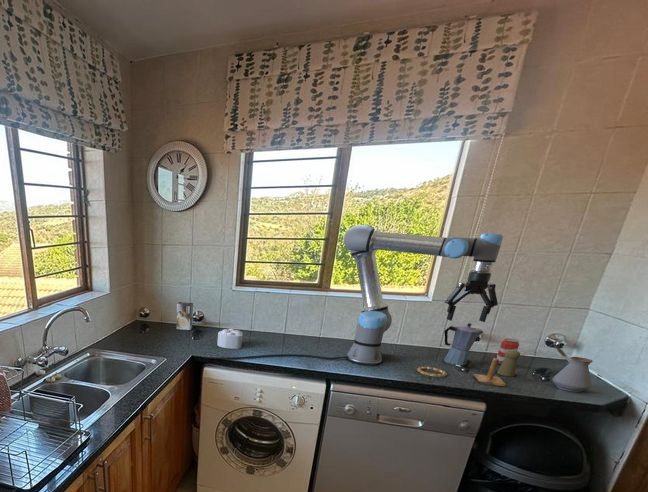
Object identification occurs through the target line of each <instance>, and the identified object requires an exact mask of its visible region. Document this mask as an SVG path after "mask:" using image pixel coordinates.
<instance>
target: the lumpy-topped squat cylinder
mask: <svg viewBox="0 0 648 492" xmlns="http://www.w3.org/2000/svg"><path fill="white" fill-rule="evenodd" d="M243 333H244V332H243V331H240V330H239V329H234V328H224V329H222V330H220V331H218V333H217V344H216V345H217V346H218V347H220V348H224V349H228V350H229V349H231V350H240V349H242V347H243V346H242V345H243V344H242V343H243Z"/></svg>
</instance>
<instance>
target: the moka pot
mask: <svg viewBox="0 0 648 492" xmlns="http://www.w3.org/2000/svg"><path fill="white" fill-rule="evenodd" d="M472 326H473V324H472V323H467V325H466V326H453V325H450V326H448V327H447V328H445V329H444V331H443V332H444V345H445V346H449V347H450V346H451V347H450V348H449V350H448V352H447V354H446V356H445V357H444V359H443V362H445V363H448V364H451V365H454V366H455V365H456V366H466V365H467V362H468V358H469V354H470V352H471V348H472V347H473V345H474V343H475V341H476V339H478V337H480V336H481V335H482V334H483V333H484V331H482V329H478V328H474V327H472ZM449 331H452V332H454V335H453V340H452V344H451V343H449V342H448V340H449V339H448V338H449V336H448V335H449V333H448V332H449Z"/></svg>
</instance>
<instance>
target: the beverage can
mask: <svg viewBox="0 0 648 492" xmlns="http://www.w3.org/2000/svg"><path fill="white" fill-rule="evenodd" d="M519 341H520V340H518V339H515V338H509V337H508V338H507V337H505V338H504V339H503V340H502V341H501V343H500V346H499V348H498V352H497V356H496V357H495V358H497V359H499V361H498V364H499V365H501V364H502V362H503V360H504V359H505V352H506V351H508V350H514V351H518V349H519V346H520V343H519ZM498 364H497V365H498Z"/></svg>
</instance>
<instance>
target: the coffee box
mask: <svg viewBox="0 0 648 492" xmlns="http://www.w3.org/2000/svg"><path fill="white" fill-rule="evenodd" d="M193 308H194V303H193V302H186V301H179V302H177V304H176V330H182V331H191V330H192V329H193V316H194V315H193V313H194V309H193Z"/></svg>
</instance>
